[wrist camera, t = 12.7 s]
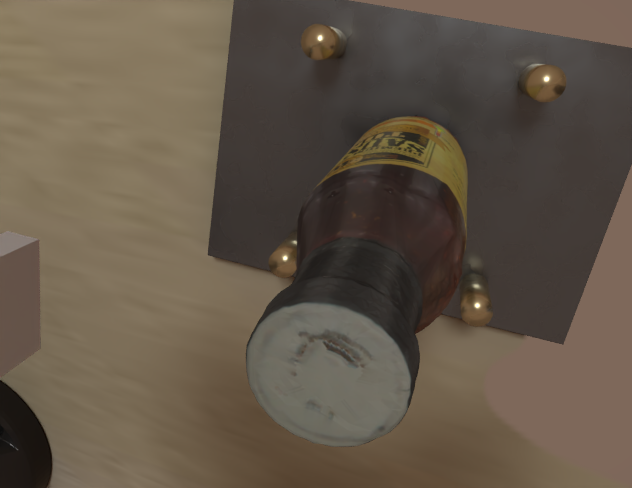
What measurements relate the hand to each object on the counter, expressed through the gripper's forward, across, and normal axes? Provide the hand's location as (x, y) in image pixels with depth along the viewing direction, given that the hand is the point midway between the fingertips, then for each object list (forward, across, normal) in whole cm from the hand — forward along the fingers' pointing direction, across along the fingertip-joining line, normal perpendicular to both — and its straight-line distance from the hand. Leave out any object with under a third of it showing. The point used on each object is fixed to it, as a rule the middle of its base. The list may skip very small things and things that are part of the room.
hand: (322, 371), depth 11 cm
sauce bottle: (+21, 0, 0) cm, 21 cm away
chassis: (+22, 0, 0) cm, 23 cm away
